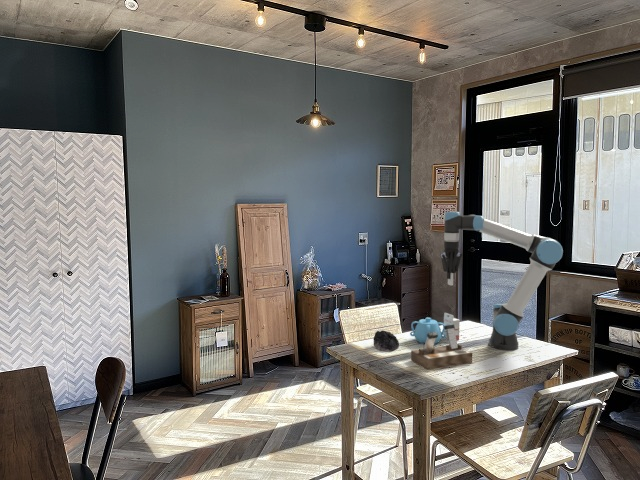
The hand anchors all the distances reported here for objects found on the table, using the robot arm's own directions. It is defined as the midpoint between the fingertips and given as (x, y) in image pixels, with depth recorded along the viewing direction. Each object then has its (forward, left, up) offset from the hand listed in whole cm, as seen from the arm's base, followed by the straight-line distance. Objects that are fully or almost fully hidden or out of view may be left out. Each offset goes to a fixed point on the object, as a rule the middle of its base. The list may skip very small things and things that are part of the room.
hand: (450, 284), depth 258 cm
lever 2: (+9, +16, -29) cm, 34 cm away
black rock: (+31, -13, -35) cm, 48 cm away
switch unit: (+17, +17, -34) cm, 42 cm away
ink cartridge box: (-12, -14, -35) cm, 39 cm away
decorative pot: (+4, -14, -35) cm, 38 cm away
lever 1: (+25, +16, -29) cm, 41 cm away
